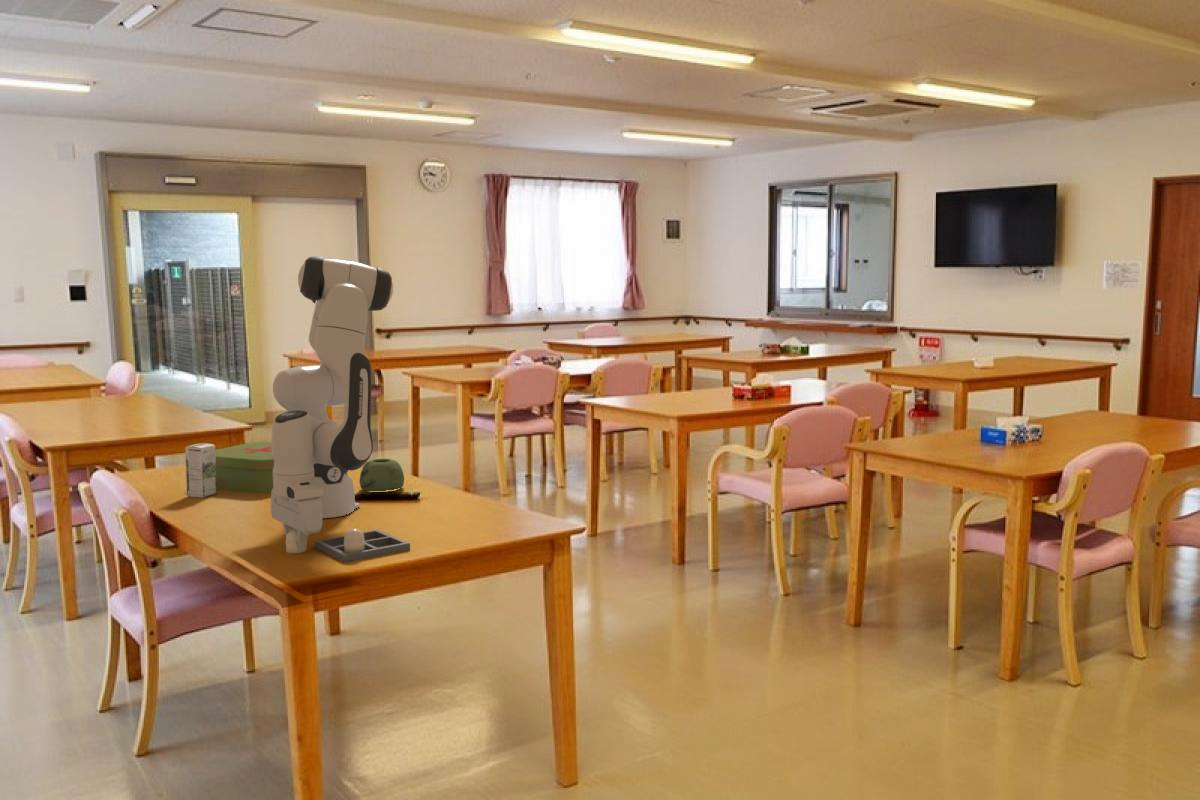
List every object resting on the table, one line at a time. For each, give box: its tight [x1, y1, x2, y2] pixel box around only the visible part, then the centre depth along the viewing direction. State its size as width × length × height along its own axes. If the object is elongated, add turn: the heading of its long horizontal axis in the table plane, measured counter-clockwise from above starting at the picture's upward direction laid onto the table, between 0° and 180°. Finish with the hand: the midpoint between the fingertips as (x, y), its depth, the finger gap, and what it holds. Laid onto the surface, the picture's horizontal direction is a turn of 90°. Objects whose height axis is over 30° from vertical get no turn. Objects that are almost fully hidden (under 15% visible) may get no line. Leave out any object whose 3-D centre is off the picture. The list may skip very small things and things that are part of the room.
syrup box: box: [184, 442, 218, 499], centre depth 284 cm, size 6×6×14 cm
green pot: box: [359, 458, 405, 492], centre depth 291 cm, size 16×13×9 cm
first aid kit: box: [215, 441, 274, 494], centre depth 302 cm, size 26×26×10 cm
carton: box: [314, 529, 411, 564], centre depth 226 cm, size 16×16×2 cm
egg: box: [285, 529, 308, 554], centre depth 225 cm, size 4×4×6 cm
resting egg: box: [344, 528, 365, 554], centre depth 221 cm, size 4×4×6 cm
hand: (296, 545), depth 225 cm, fingers closed on egg, 4 cm apart
